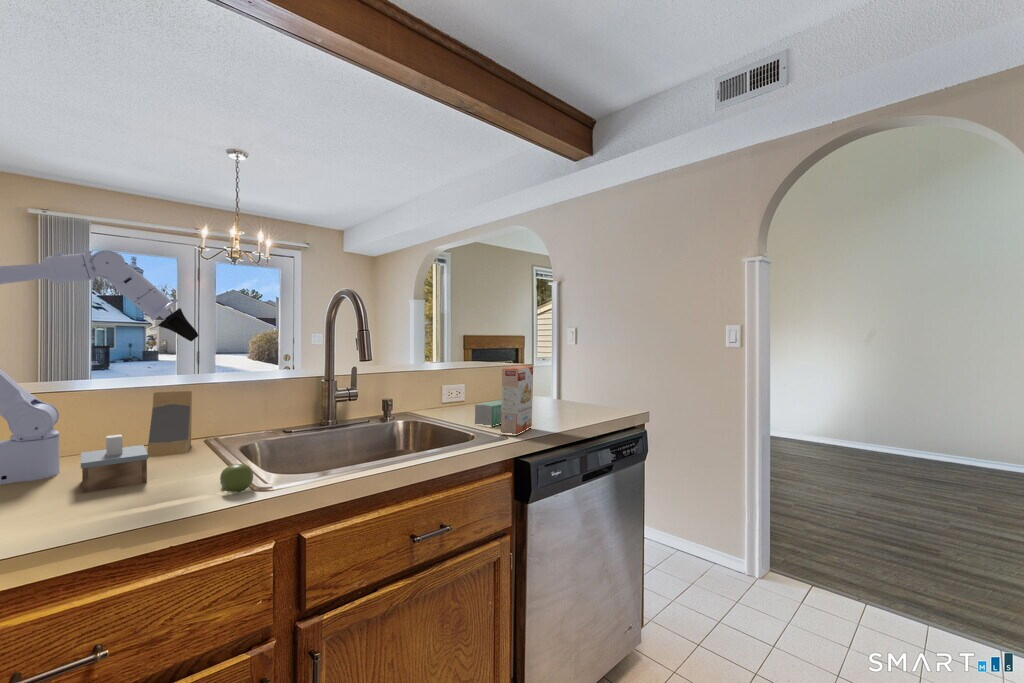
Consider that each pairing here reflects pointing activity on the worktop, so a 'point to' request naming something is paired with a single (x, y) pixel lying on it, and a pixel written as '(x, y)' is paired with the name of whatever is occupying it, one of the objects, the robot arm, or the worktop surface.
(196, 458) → the worktop surface
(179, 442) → the sandwich container
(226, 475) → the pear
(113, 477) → the walnut box
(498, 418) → the box
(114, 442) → the lid
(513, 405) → the cracker box
